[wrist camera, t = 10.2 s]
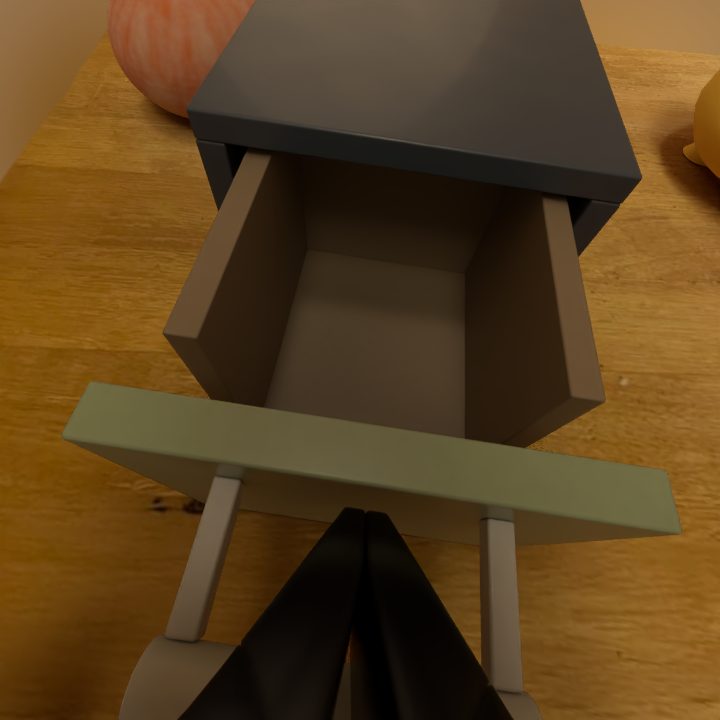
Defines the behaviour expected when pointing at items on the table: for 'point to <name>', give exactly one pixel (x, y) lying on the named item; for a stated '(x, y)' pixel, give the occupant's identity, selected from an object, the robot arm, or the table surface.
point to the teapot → (707, 128)
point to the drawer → (374, 391)
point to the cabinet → (424, 96)
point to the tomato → (172, 44)
